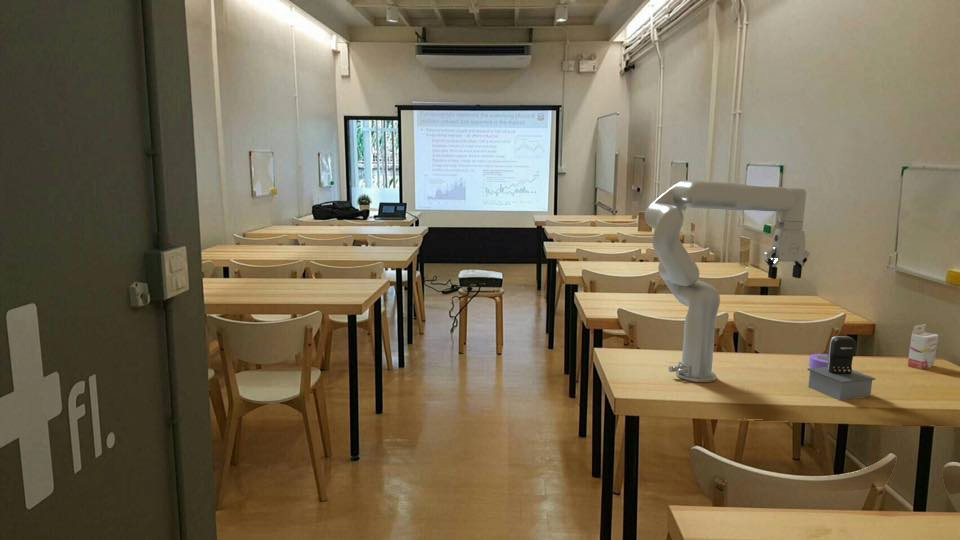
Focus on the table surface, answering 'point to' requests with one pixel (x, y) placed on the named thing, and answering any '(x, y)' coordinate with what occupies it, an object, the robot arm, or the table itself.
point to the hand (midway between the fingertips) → (784, 278)
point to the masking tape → (818, 360)
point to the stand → (840, 383)
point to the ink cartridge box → (922, 348)
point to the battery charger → (841, 354)
